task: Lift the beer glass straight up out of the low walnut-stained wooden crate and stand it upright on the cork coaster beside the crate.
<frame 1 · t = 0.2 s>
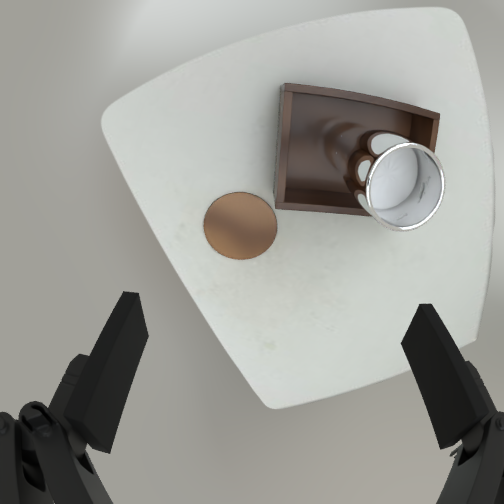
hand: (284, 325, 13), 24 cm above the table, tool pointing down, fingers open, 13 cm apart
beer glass: (349, 147, 31), resting on crate
coaster: (240, 226, 37), on the table
crate: (348, 147, 31), on the table
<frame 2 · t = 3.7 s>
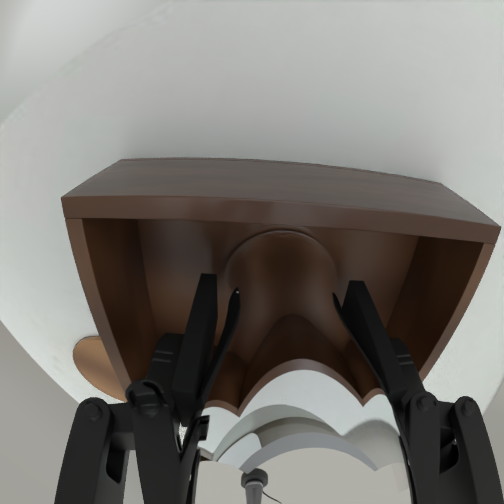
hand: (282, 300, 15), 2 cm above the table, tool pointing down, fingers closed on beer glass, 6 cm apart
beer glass: (279, 278, 16), resting on crate, touching gripper
coaster: (120, 373, 22), on the table
crate: (279, 275, 16), on the table
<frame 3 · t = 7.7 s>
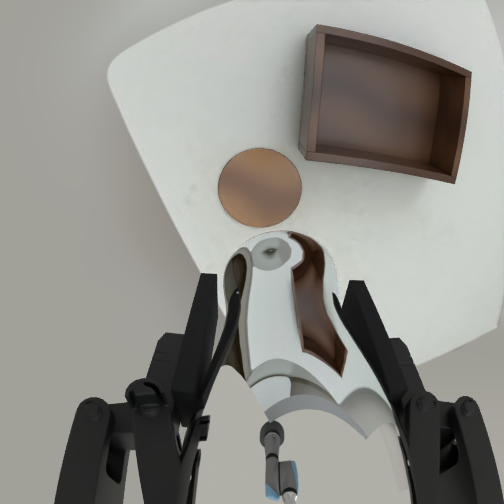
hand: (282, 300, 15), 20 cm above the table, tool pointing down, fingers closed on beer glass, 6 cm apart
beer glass: (280, 278, 16), point 18 cm above the table, touching gripper
coaster: (259, 188, 32), on the table
crate: (378, 103, 27), on the table
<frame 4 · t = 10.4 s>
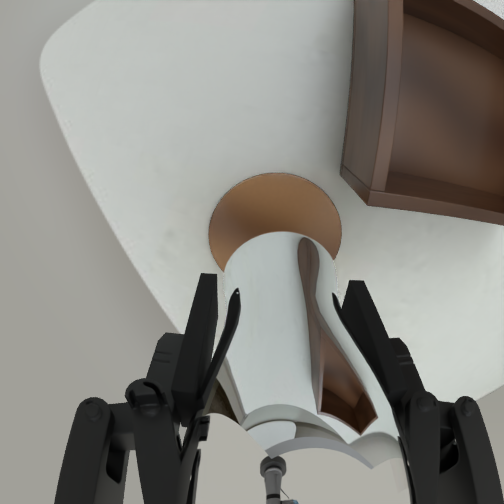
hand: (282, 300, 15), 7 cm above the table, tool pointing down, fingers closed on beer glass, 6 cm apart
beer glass: (279, 278, 16), point 5 cm above the table, touching gripper
coaster: (275, 237, 20), on the table
crate: (457, 108, 15), on the table
when the fingers open (2 cm above the table, at t = 11.9 s): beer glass stays where it is, resting on coaster.
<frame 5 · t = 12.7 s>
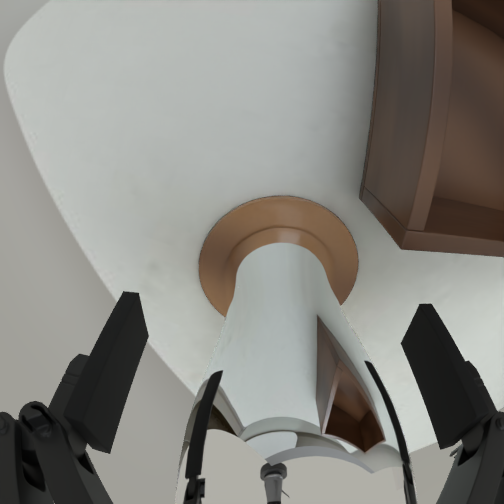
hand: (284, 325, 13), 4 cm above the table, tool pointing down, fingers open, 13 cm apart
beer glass: (279, 274, 17), resting on coaster
coaster: (279, 271, 17), on the table
crate: (493, 118, 11), on the table
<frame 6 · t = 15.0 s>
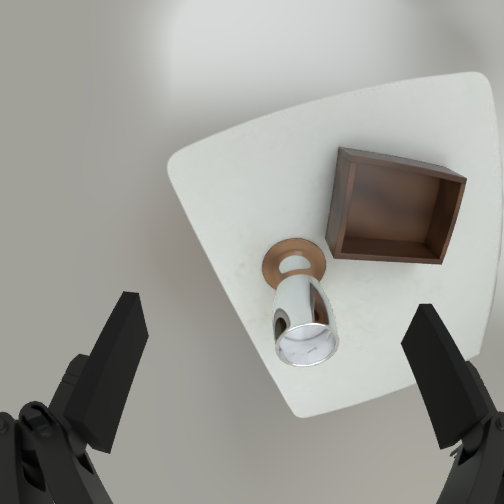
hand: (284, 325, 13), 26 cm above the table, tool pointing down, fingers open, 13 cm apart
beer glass: (294, 267, 42), resting on coaster
coaster: (294, 266, 42), on the table
crate: (389, 201, 37), on the table
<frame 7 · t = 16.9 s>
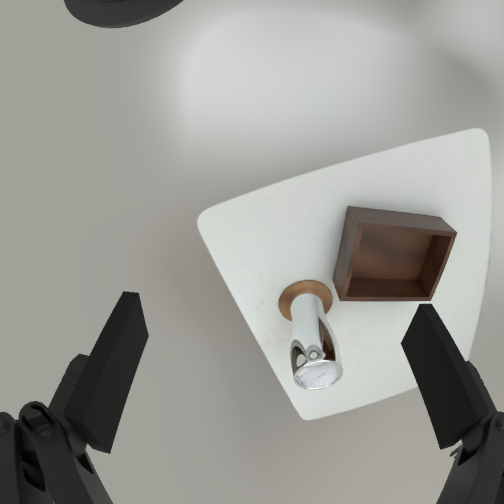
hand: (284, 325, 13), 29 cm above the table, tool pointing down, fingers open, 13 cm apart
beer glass: (305, 303, 49), resting on coaster
coaster: (305, 302, 49), on the table
crate: (388, 248, 44), on the table
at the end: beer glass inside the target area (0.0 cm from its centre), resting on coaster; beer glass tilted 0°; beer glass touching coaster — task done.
